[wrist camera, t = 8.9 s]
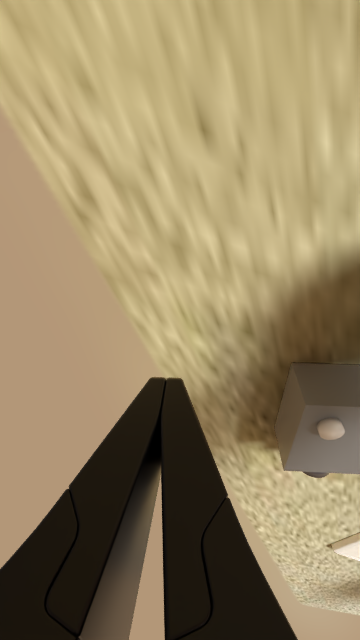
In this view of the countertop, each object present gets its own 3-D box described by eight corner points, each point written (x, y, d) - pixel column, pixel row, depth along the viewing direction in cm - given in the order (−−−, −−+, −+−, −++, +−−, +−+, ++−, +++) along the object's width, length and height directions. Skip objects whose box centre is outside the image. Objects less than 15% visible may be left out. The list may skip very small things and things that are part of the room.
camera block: (428, 366, 23) (473, 418, 19) (383, 440, 28) (411, 492, 25) (291, 362, 23) (308, 412, 20) (272, 435, 29) (282, 485, 25)
